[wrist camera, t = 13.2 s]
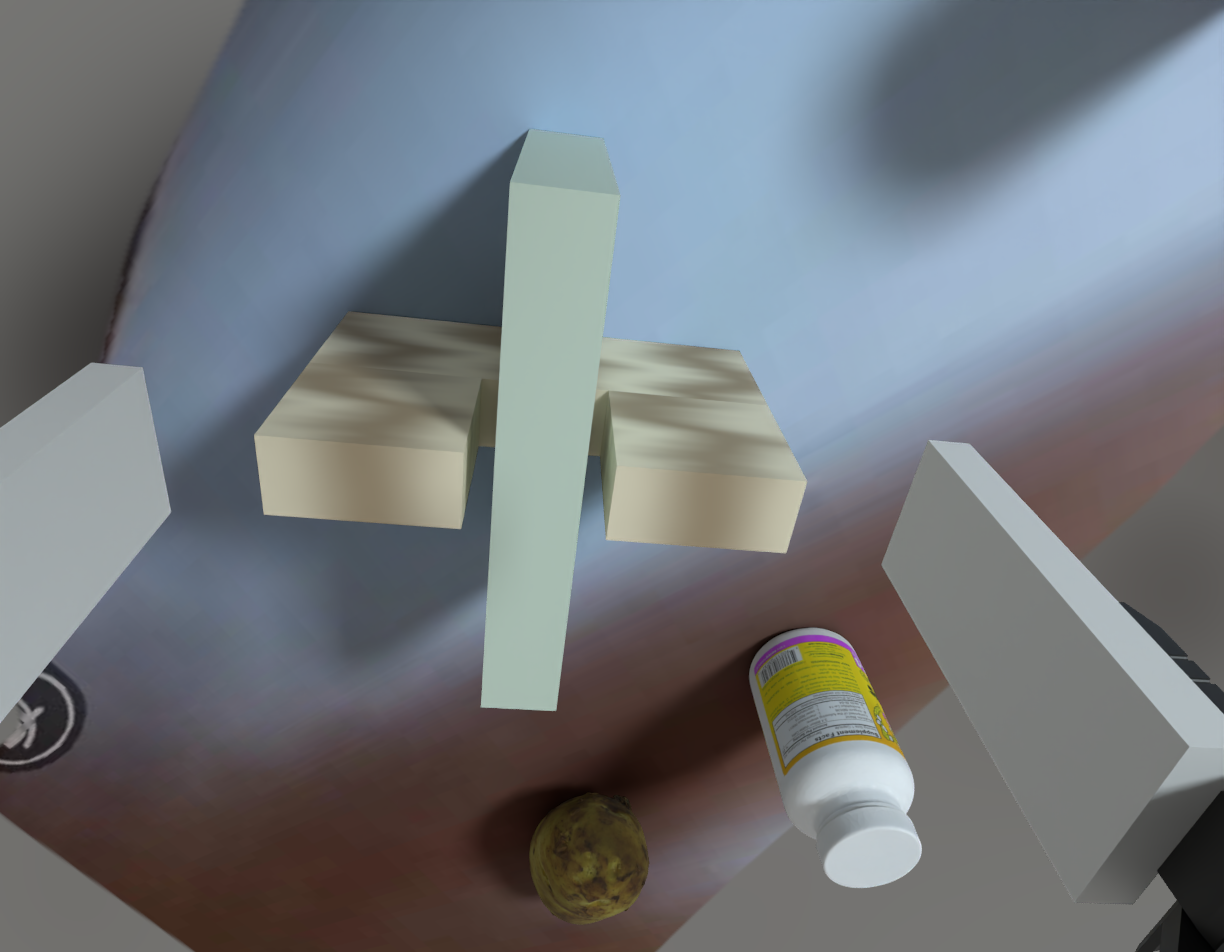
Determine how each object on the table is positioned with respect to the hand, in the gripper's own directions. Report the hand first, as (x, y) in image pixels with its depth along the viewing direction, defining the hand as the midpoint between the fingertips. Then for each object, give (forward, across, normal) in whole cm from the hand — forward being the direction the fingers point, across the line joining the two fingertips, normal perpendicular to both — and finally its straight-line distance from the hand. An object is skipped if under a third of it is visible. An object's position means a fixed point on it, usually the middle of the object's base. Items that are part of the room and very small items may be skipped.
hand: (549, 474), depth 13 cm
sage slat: (+22, 0, -7) cm, 24 cm away
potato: (+22, +5, -40) cm, 46 cm away
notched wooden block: (+22, 0, -7) cm, 23 cm away
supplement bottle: (+23, +17, -25) cm, 38 cm away
